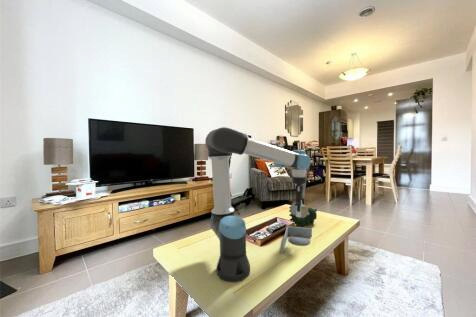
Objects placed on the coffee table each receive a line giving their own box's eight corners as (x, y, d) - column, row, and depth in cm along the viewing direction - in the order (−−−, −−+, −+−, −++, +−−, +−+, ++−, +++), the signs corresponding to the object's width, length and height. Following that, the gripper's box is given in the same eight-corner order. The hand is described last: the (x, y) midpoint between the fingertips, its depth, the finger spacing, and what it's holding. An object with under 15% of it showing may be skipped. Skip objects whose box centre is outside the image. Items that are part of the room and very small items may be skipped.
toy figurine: (297, 232, 136) (323, 222, 147) (295, 204, 134) (321, 196, 146) (287, 227, 144) (312, 218, 156) (285, 201, 143) (311, 194, 154)
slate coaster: (310, 246, 112) (310, 245, 112) (287, 243, 116) (287, 242, 116) (310, 237, 124) (310, 236, 124) (289, 235, 128) (289, 234, 128)
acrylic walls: (312, 258, 101) (312, 248, 100) (282, 253, 106) (281, 244, 105) (311, 236, 125) (311, 228, 125) (287, 233, 130) (287, 225, 130)
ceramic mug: (300, 219, 113) (300, 205, 113) (289, 215, 120) (289, 202, 120) (313, 216, 119) (313, 203, 119) (301, 212, 126) (302, 200, 126)
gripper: (305, 179, 106) (305, 221, 107) (306, 174, 128) (306, 208, 129) (290, 179, 109) (291, 219, 110) (293, 173, 130) (294, 207, 131)
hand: (299, 213), depth 119 cm, fingers closed on ceramic mug, 11 cm apart
